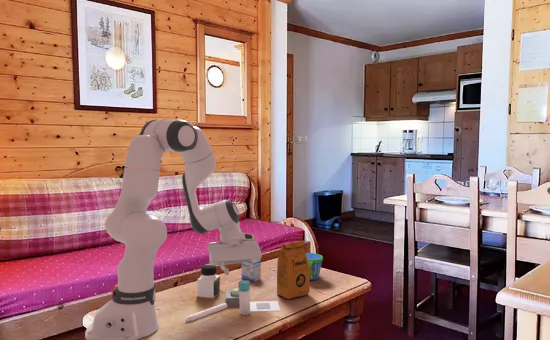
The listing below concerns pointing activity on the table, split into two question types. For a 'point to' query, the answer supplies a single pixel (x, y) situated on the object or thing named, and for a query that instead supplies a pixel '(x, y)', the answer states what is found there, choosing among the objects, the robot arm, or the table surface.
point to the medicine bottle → (208, 282)
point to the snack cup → (314, 265)
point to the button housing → (231, 298)
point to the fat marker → (244, 297)
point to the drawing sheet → (264, 306)
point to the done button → (235, 292)
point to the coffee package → (293, 271)
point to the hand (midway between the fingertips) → (239, 272)
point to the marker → (206, 312)
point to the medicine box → (251, 275)
